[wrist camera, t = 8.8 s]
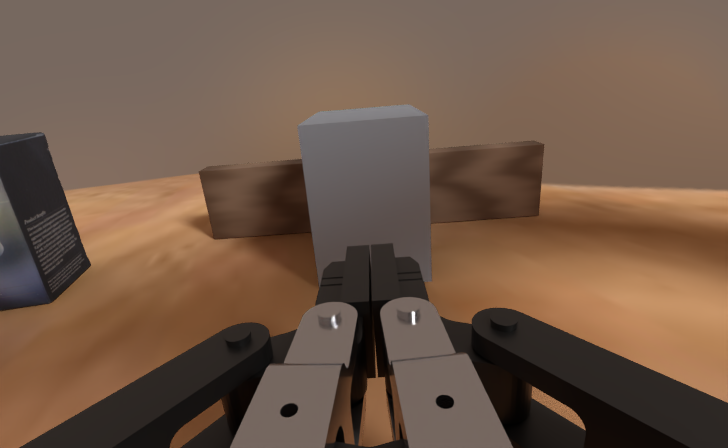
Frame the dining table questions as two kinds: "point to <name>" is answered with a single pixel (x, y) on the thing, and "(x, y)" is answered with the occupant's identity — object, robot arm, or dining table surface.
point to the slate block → (368, 182)
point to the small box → (34, 226)
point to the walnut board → (447, 189)
